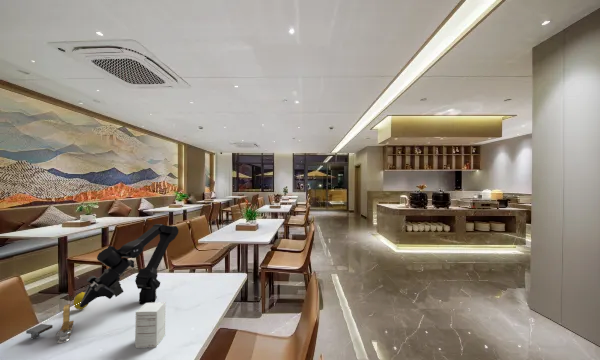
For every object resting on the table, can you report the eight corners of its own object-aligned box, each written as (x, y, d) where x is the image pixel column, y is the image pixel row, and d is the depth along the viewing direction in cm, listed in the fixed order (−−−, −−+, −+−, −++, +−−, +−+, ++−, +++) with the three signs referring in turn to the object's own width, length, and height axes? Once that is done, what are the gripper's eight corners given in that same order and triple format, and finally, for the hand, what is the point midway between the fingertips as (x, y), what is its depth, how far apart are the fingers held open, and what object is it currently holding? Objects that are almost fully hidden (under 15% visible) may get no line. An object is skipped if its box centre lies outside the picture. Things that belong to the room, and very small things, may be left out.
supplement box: (145, 336, 95) (146, 302, 95) (165, 335, 96) (166, 301, 96) (134, 348, 88) (134, 311, 88) (156, 347, 88) (157, 311, 89)
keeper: (52, 334, 95) (52, 325, 96) (37, 342, 91) (38, 331, 91) (40, 333, 96) (41, 323, 96) (25, 341, 92) (26, 330, 92)
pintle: (73, 336, 95) (73, 328, 95) (68, 342, 91) (68, 334, 91) (59, 338, 93) (59, 330, 93) (53, 345, 89) (53, 336, 90)
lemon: (80, 313, 112) (80, 295, 112) (69, 312, 113) (70, 294, 113) (92, 307, 117) (93, 290, 117) (82, 306, 118) (83, 289, 118)
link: (70, 335, 94) (71, 308, 95) (58, 338, 93) (59, 311, 93) (73, 324, 102) (74, 299, 102) (62, 327, 100) (63, 301, 100)
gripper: (137, 286, 107) (104, 323, 98) (123, 276, 118) (92, 308, 110) (115, 272, 101) (78, 310, 92) (102, 263, 113) (68, 296, 104)
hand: (80, 306), depth 99 cm, fingers closed
